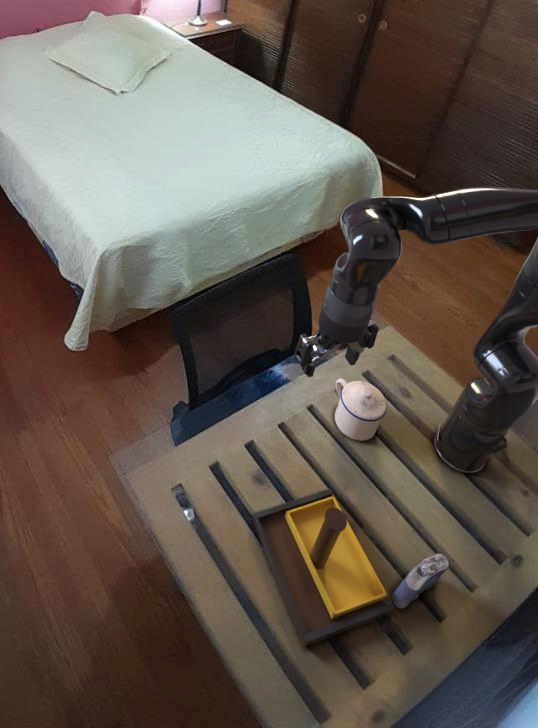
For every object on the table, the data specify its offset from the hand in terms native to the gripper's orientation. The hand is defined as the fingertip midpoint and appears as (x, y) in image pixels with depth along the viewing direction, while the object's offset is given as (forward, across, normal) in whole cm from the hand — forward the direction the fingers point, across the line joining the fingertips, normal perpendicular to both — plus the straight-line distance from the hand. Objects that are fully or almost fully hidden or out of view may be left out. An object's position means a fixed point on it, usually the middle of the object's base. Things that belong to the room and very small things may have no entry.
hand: (328, 367), depth 98 cm
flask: (+28, +5, -28) cm, 40 cm away
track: (+28, -9, -20) cm, 36 cm away
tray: (+27, -6, -20) cm, 34 cm away
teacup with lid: (+28, +13, +3) cm, 31 cm away
